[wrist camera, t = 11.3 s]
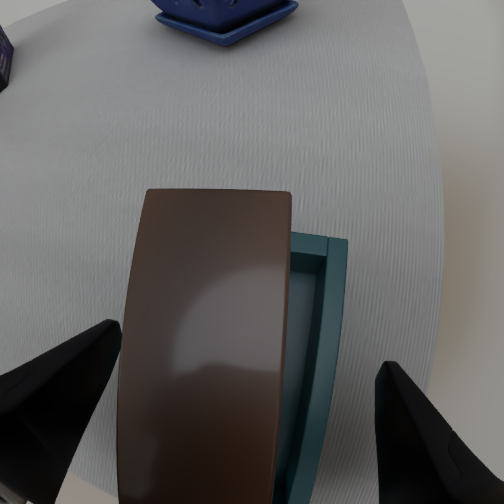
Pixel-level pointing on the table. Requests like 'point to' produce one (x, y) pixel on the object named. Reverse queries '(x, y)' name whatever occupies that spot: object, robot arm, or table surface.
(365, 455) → the table surface
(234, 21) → the flower pot
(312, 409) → the holder
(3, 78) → the box
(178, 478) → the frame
